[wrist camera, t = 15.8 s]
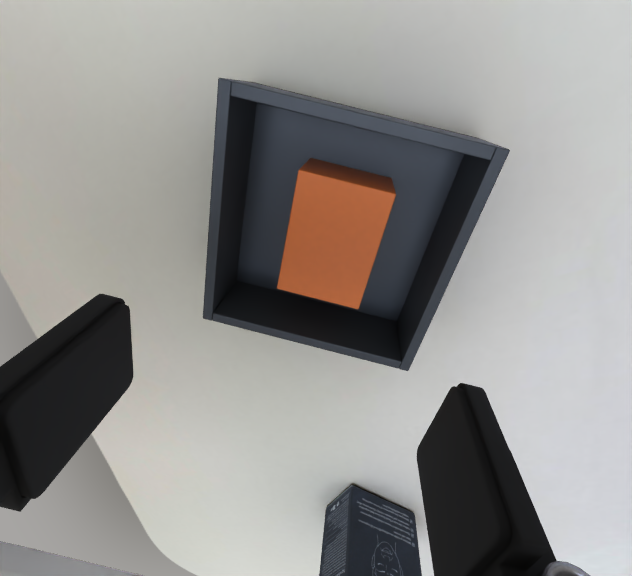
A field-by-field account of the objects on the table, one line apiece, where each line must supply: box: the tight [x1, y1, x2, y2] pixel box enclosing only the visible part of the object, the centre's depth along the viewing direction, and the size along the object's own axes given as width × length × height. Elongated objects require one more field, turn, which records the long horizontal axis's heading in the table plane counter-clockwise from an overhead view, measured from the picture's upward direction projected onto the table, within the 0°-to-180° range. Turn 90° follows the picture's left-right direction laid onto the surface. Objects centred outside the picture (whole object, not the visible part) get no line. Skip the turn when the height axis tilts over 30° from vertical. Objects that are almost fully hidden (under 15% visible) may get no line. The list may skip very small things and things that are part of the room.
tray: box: [203, 78, 510, 371], centre depth 21 cm, size 13×13×5 cm
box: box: [319, 485, 422, 576], centre depth 33 cm, size 8×6×11 cm
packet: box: [277, 158, 396, 309], centre depth 21 cm, size 5×7×4 cm
